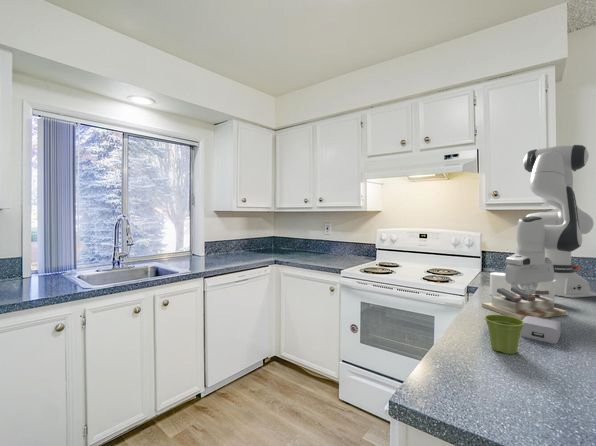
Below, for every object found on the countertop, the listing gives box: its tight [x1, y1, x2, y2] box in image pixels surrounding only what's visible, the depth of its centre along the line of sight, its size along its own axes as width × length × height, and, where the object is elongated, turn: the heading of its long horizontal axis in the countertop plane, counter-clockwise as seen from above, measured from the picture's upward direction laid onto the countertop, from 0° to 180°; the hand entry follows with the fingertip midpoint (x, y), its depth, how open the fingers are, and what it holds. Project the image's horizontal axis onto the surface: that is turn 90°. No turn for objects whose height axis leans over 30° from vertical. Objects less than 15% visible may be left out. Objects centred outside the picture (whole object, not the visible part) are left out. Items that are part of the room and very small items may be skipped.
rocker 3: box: [523, 289, 549, 295], centre depth 123 cm, size 3×8×2 cm, turn 14°
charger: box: [520, 316, 562, 345], centre depth 99 cm, size 5×9×15 cm
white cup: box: [534, 280, 556, 300], centre depth 132 cm, size 8×8×10 cm
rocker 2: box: [511, 286, 536, 301], centre depth 121 cm, size 3×8×2 cm, turn 14°
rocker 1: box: [497, 288, 521, 302], centre depth 120 cm, size 3×8×2 cm, turn 14°
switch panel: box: [481, 294, 568, 320], centre depth 122 cm, size 22×17×6 cm
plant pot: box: [484, 314, 524, 355], centre depth 87 cm, size 9×9×9 cm
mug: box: [489, 271, 522, 297], centre depth 143 cm, size 8×10×12 cm
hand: (530, 294), depth 119 cm, fingers closed
